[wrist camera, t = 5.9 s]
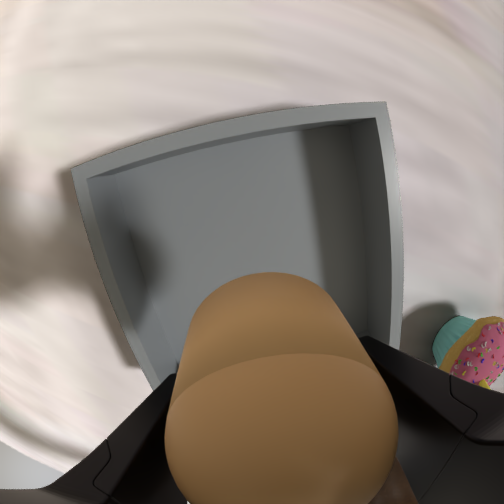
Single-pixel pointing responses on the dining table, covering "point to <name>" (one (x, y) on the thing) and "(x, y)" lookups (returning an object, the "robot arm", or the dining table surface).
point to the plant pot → (395, 488)
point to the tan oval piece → (277, 400)
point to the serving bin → (248, 220)
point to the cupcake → (471, 349)
